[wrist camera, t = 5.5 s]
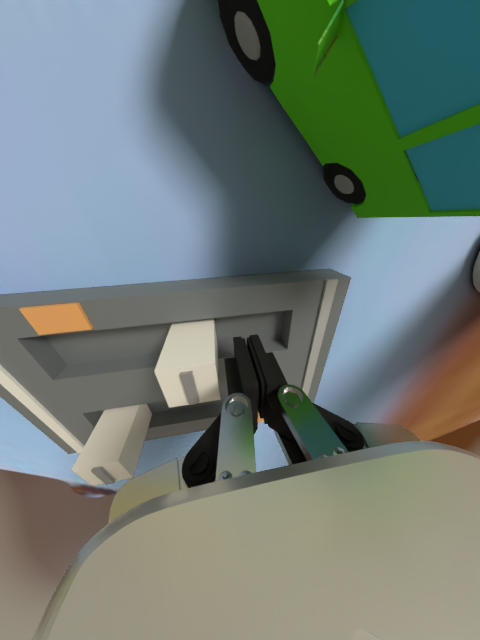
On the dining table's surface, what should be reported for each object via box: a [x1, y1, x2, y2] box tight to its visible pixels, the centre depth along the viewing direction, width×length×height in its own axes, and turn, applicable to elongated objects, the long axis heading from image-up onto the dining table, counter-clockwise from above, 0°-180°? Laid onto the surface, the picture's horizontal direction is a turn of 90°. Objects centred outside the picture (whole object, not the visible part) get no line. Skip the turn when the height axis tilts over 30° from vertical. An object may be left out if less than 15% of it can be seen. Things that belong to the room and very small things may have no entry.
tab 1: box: [71, 404, 152, 486], centre depth 15 cm, size 3×3×5 cm
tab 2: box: [154, 318, 221, 408], centre depth 12 cm, size 3×3×5 cm
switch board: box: [0, 269, 351, 454], centre depth 16 cm, size 26×16×3 cm, turn 92°
